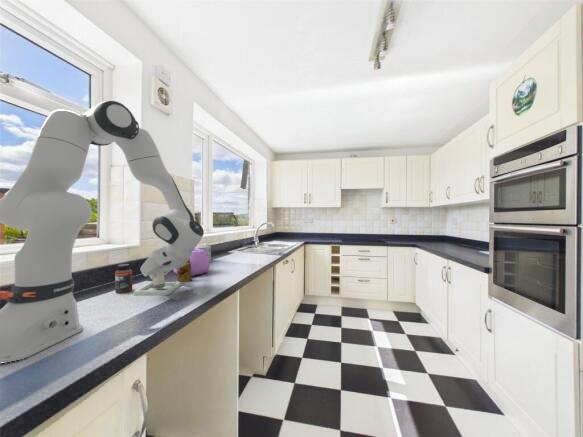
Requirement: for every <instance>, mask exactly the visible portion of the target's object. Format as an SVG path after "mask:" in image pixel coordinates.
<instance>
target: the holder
mask: <svg viewBox="0 0 583 437" xmlns="http://www.w3.org/2000/svg"><path fill="white" fill-rule="evenodd" d="M195 296H199V294H198V293H196V292H193V291H192V290H191V291H190V290H188V289H186V290H182V291H176V292H173V293H172V292H171V293H170V294H168V295H165V297H167V298H169V299H172V300H173V301H176V302H177V301H181V300H183V299H187V298H191V297H195Z"/></svg>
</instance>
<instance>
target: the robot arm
mask: <svg viewBox="0 0 583 437" xmlns="http://www.w3.org/2000/svg"><path fill="white" fill-rule="evenodd" d="M113 143H115V144H116V145H117V146H118V147H119V148H120V149H121V151H122V152H123V154H124V157H125V159H126V162H127V165H128V167H129V171H130V172H131V175H132V176H133V177H134V178H135V179H136V180H137V181H138V182H141V183H142V184H144V185H148V186H152V187H154V188H156V189H158V190H159V192H161V194H162V195H163V197H164V199H165V202H166V203H167V206H168V208H169V212H167V213H164V214H161V215H159V216H157V217H155V218H154V219H153V221H152V227H151V228H152V232H153V234H154V235H156V237H157V238H159V239H160V240H162V241H163V242H165V243H167V244H165V245H164V246H163V247H160V248H157V249H155V250H153V251H152V252H151V253H150V254H151V255H150V256H149V257H148V258H147V259H146V260H145V261H144V262H143V264H141V267H140V268H139V269H140V272H141V274H142V275H143V276H144V277H149V279H151V280H153V278H155V277H156V274H157V273H161V272H164V276H165V275H168V273H170V272H171V271H173V269H176V268H180V267H183V266H184V265H186V263H187V262H188V260H189V259H190V255H191V254H192V250H193V249H194V248H195V247H198V245H199V243H200V241H202V239H203V237H204V234H205V231H204V229H203V226H202V225H201V224H200V223H199V222H198V221H197V220H195V218H194V214H193V213H192V211H191V210H190V209H189V208H188V206H187V205H186V203H185V201H184V199H183V196H182V195H181V192H180V190H179V187H178V186H177V185H176V182H175V180H174V178H173V177H172V176H171V173H169V171H168V169H167V168H166V166H165V163H164V161H163V159H162V157H161V154H160V152H159V150H158V147H157V145H156V143H155V141H154V139H153V137H152V135H151V134H150V133H149V131H147V130H146V129H143V128H140V125H139V123H138V121H137V120H136V118H135V116H134V115H133V113H132V112H131V111H130V109H129V108H128V107H126V106H125V104H123V103H121V102H119V101H115V100H105V101H102V102H99V103H98V104H97V105H96V106H93V107H91V108H90V109H88V110H87V111H86V112H85V113H83V114H80V113H77V112H74V111H71V110H68V109H56V110H53V111H51V112H50V114H49V115H48V116H47V117H46V119H45V121H44V123H43V125H42V126H41V128H40V129H39V132H38V134H37V137H36V141H35V144H34V147H33V149H32V153H31V155H30V158H29V161H28V163H27V165H26V167H25V168H24V170H23V172H22V173H21V175H20V176H19V178H18V179H17V180H16V182H15V183H14V184H13V186H12V187H11V188H10V190H9V191H8V192H7V193H6V194H5V195H4V196H3V197H1V198H0V224H2V225H4V226H6V227H9V228H12V229H15V230H18V231H27V233H26V234H27V235H26V238H25V242H24V243H23V245H22V246H21V248H20V250H18V251H17V252H16V253H15V256H14V285H12V288H11V289H10V290H6V291H5V290H0V300H6V301H7V303H6V304H5V305H4V306H3V307H2V308H0V363H1V362H10V363H12V362H11V361H15V362H17V361H16V360H19V361H21V360H20V359H22V360H24V358H25V359H27V358H29V357H31V356H33V355H36V354H37V353H39V352H41V351H43V350H45V349H48V348H49V347H52V346H53V345H56V344H57V343H60V342H62V341H63V340H66V339H68V338H70V337H72V336H74V335H76V334H78V333H80V332H83V330H84V328H83V325H82V324H80V319H79V313H78V312H79V311H78V304H77V300H76V299H75V296H74V293H73V291H74V289H75V281H74V278H73V277H72V262H73V258H72V257H73V256H72V255H73V249H74V246H75V242H76V241H77V240H76V239H77V238H78V235H79V233H80V231H81V230H82V229H83V227H85V226H86V225H88V223H89V222H90V221H91V218H92V213H93V212H92V210H93V209H92V206H91V204H90V202H89V201H88V200H87V199H86V198H85V197H84V196H81V195H79V194H77V193H73V192H68V190H69V189H70V188H71V187H72V186H73V185H74V184H75V183H77V182H78V181H79V180H80V179H81V177H82V174H83V171H84V169H85V168H84V167H85V164H86V160H87V156H88V153H89V149H90V145H94V146H98V147H99V146H100V147H102V146H103V147H104V146H108V145H111V144H113ZM26 357H27V358H26Z"/></svg>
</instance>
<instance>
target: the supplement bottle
mask: <svg viewBox="0 0 583 437" xmlns="http://www.w3.org/2000/svg"><path fill="white" fill-rule="evenodd" d="M114 278H115V280H114V282H115V283H114V286H115V290H114V291H115V293H117V294H125V293H128V292H131V291H132V290H133V270H132V269H131V268H130V264H129V263H122V264H118V265H117V270H116V271H115V273H114Z"/></svg>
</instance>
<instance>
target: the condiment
mask: <svg viewBox="0 0 583 437" xmlns="http://www.w3.org/2000/svg"><path fill="white" fill-rule="evenodd" d="M176 275H177V277H176V278H177V279H176V281H175V282H180V283H183V282H184V283H185V282H193V278H192V277H191V263H190V259H189V260H188V262H187V263H186V265H184V266H183V267H180V268H177V274H176Z"/></svg>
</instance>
